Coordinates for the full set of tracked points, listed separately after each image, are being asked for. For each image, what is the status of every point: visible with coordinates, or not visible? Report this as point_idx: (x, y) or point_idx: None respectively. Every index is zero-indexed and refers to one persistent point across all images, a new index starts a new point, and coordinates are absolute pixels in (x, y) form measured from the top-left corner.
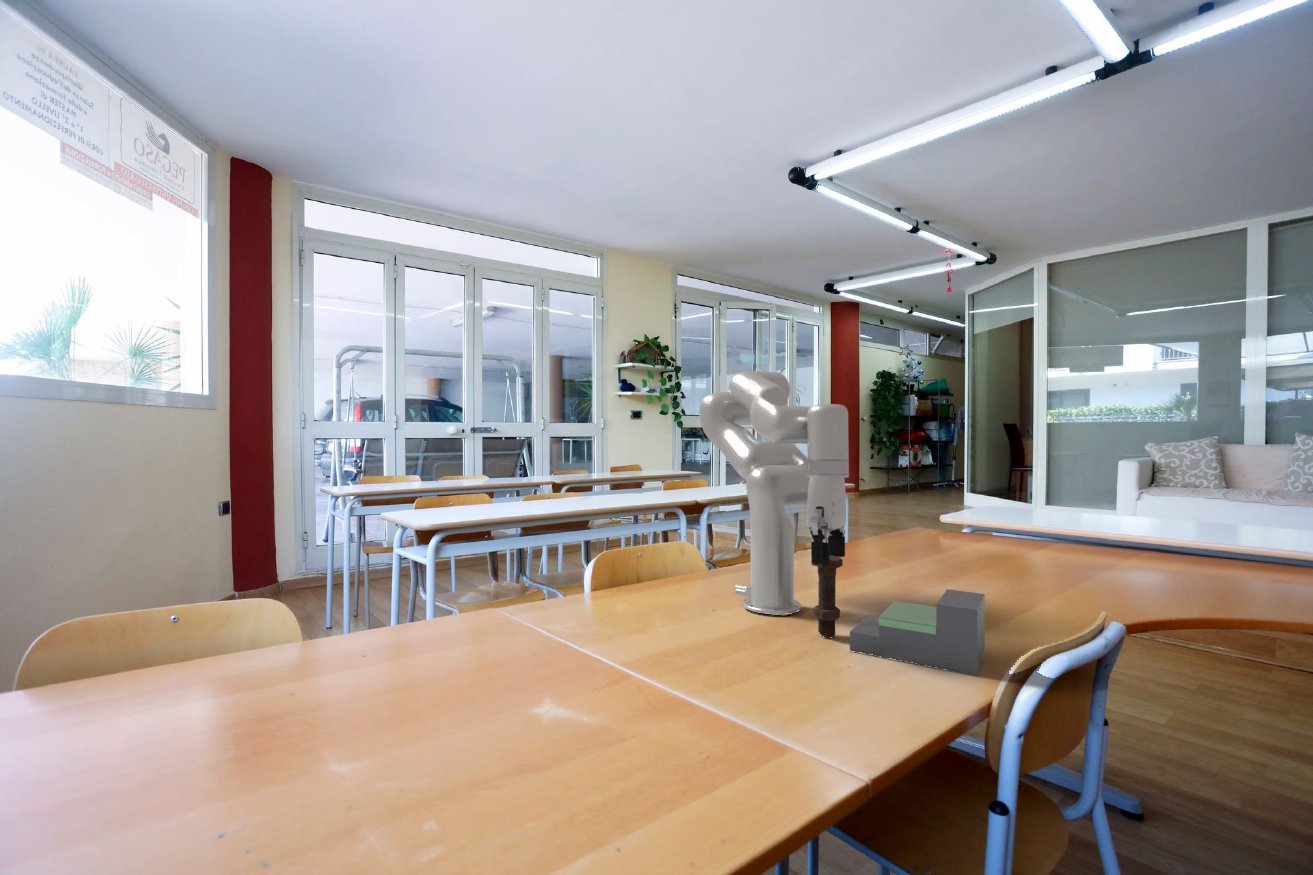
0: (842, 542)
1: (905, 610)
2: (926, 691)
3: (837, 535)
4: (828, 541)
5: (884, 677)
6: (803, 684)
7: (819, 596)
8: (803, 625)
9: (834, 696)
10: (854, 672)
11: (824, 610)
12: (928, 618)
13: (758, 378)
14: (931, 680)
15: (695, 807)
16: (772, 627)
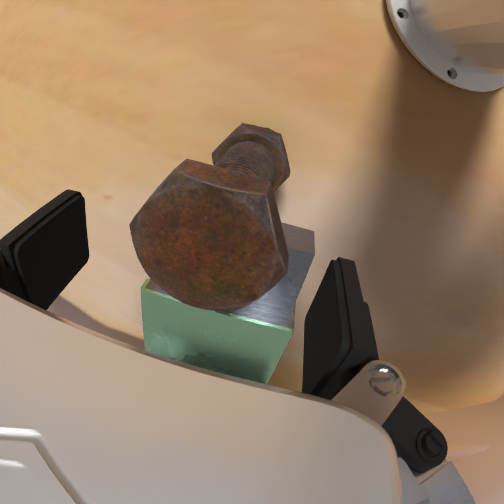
0: (304, 375)
1: (216, 338)
2: (91, 283)
3: (320, 394)
4: (339, 315)
5: (100, 244)
6: (30, 149)
7: (223, 155)
8: (333, 85)
9: (25, 189)
10: (93, 206)
11: (214, 161)
12: (181, 356)
13: None
14: (125, 294)
15: None
16: (282, 12)
